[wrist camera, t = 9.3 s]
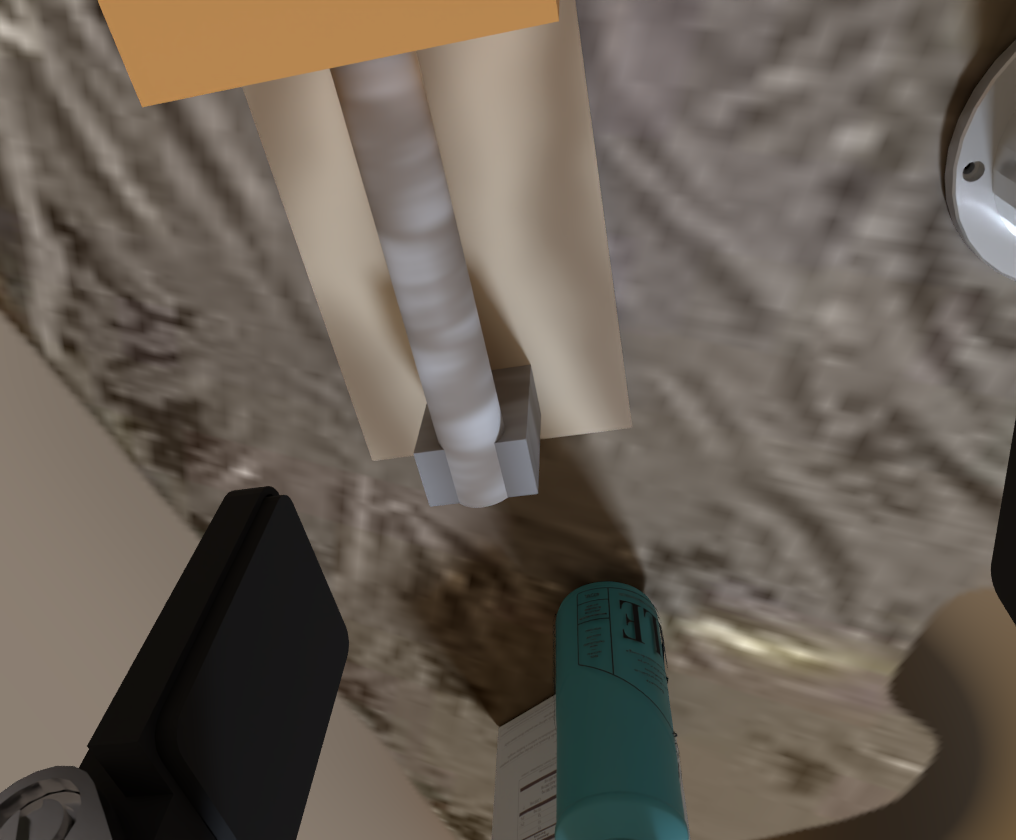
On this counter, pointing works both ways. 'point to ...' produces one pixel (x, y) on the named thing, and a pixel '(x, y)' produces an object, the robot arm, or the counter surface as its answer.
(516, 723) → the supplement box
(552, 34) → the pipe rig
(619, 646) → the beverage bottle
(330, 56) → the brown slab
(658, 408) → the counter surface
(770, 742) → the counter surface
